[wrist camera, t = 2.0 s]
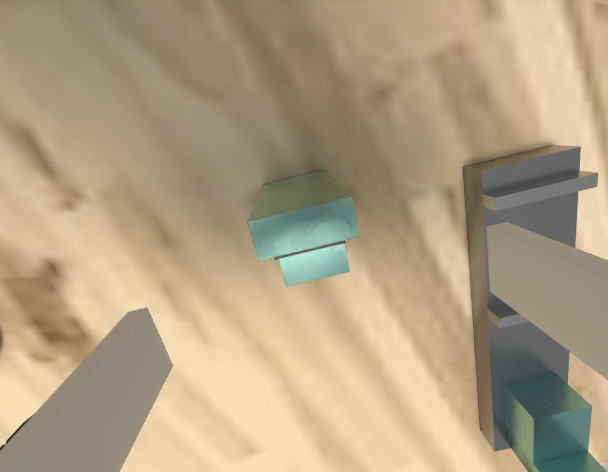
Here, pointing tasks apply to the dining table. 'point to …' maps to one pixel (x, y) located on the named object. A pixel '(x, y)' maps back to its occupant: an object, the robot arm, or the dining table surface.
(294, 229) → the teal block
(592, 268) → the robot arm
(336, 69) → the dining table surface
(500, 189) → the rail
